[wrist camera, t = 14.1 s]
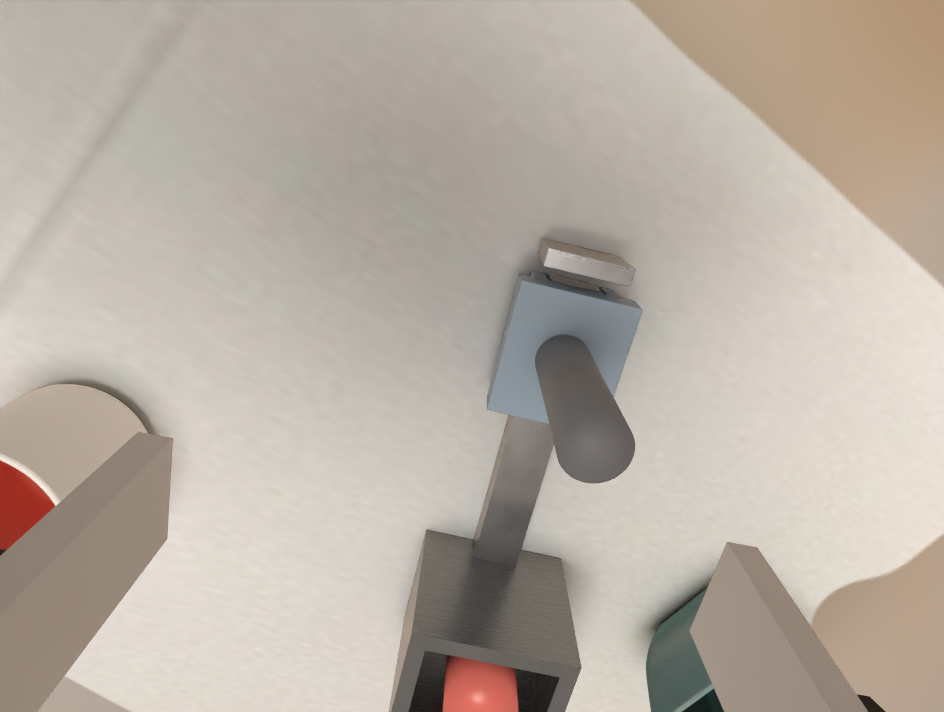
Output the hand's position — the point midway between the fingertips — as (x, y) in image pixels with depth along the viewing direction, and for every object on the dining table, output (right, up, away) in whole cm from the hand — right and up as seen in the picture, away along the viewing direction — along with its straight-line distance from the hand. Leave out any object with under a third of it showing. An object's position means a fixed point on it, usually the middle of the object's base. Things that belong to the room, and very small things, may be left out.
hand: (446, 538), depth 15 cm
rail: (+4, 0, +27) cm, 28 cm away
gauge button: (+1, -15, +26) cm, 30 cm away
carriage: (+6, +5, +25) cm, 27 cm away
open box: (+1, -13, +32) cm, 34 cm away
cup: (-26, -2, +29) cm, 38 cm away
